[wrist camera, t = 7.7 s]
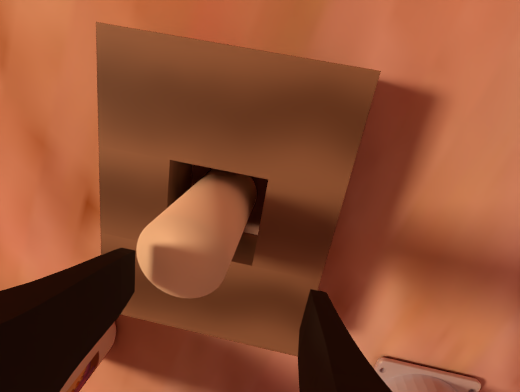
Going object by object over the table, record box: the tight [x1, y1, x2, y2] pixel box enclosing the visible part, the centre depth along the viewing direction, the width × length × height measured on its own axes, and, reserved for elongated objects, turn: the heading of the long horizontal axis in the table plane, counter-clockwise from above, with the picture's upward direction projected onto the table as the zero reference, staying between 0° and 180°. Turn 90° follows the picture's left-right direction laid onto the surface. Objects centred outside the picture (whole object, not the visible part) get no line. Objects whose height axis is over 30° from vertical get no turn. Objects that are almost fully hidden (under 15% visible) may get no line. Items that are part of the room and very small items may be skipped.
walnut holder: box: [96, 22, 381, 356], centre depth 19 cm, size 18×14×4 cm
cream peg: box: [136, 169, 257, 299], centre depth 17 cm, size 4×4×9 cm
